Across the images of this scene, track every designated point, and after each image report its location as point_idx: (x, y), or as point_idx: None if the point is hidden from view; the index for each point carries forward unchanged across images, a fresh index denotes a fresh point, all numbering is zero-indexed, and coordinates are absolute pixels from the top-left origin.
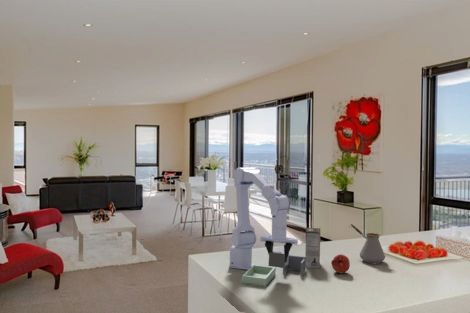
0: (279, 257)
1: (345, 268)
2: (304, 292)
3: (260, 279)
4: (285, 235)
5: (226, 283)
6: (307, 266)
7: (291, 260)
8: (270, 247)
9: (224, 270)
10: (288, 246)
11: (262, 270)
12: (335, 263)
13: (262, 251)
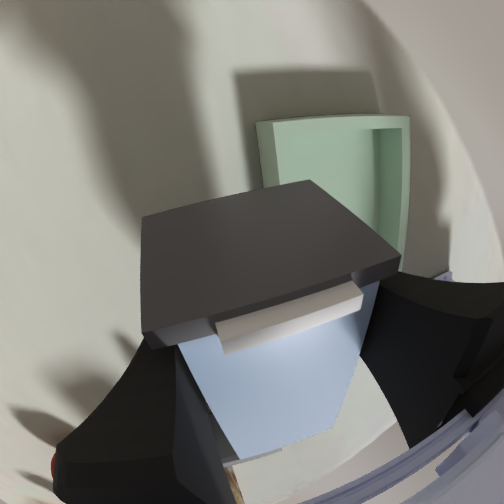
0: (223, 265)
1: (52, 458)
2: (20, 180)
3: (305, 118)
4: None
5: (425, 88)
6: None
7: None
8: (440, 311)
9: (457, 234)
10: (66, 475)
11: None
12: None
13: (370, 431)
